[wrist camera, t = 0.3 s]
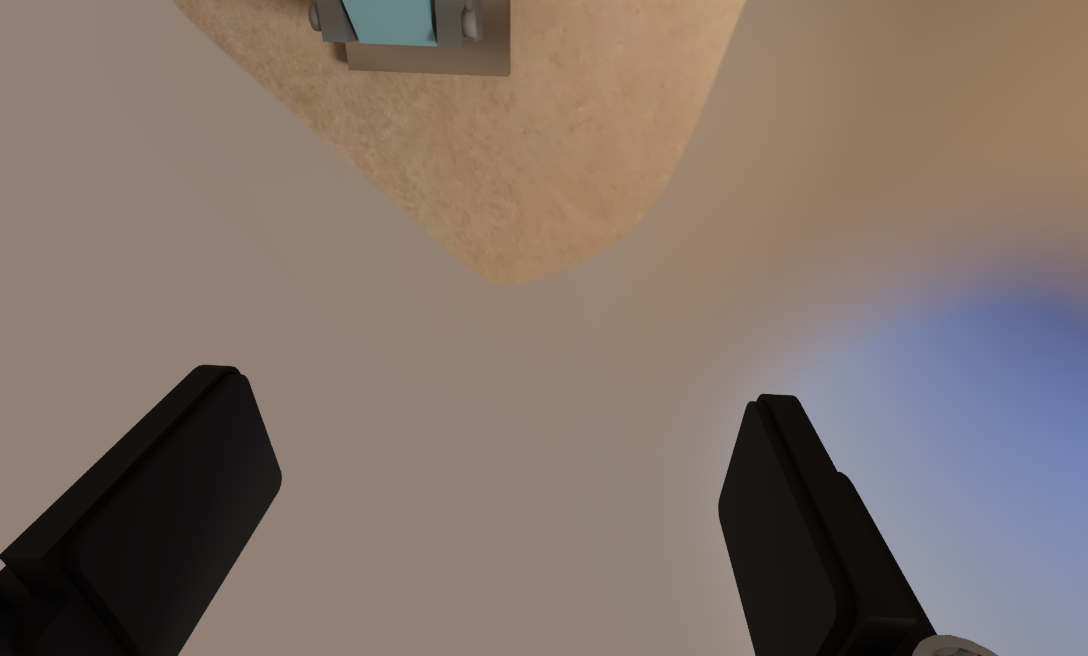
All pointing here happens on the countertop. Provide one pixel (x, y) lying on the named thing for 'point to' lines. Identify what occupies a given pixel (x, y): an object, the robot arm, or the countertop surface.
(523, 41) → the countertop surface
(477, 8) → the clip base
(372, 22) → the bar
